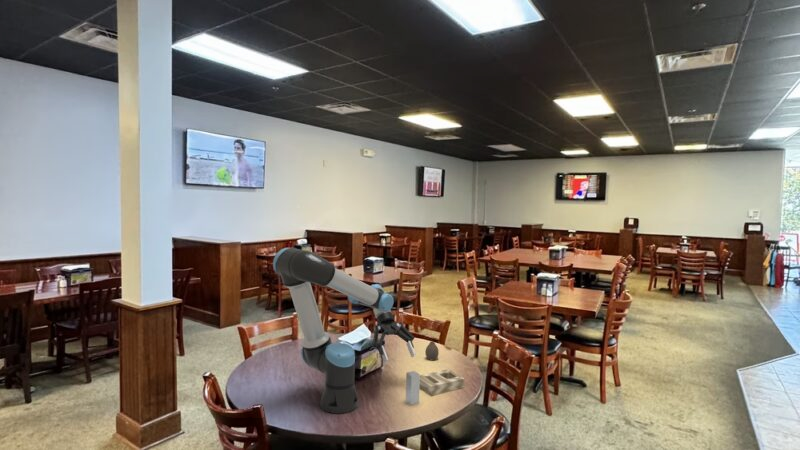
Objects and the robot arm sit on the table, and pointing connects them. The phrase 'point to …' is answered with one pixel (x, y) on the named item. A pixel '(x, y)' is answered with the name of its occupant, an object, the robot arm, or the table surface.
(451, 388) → the holder
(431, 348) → the dark grey egg
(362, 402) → the table surface
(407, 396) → the grey rectangular block
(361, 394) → the table surface
